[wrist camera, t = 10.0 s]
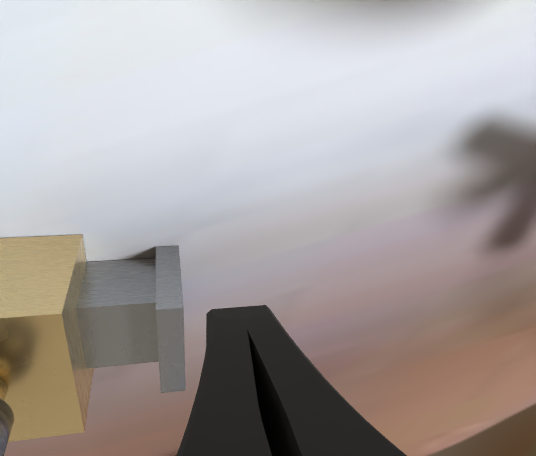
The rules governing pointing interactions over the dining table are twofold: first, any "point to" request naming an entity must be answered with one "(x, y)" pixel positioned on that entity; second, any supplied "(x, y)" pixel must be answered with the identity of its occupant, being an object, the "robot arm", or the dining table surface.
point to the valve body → (81, 327)
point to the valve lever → (5, 425)
